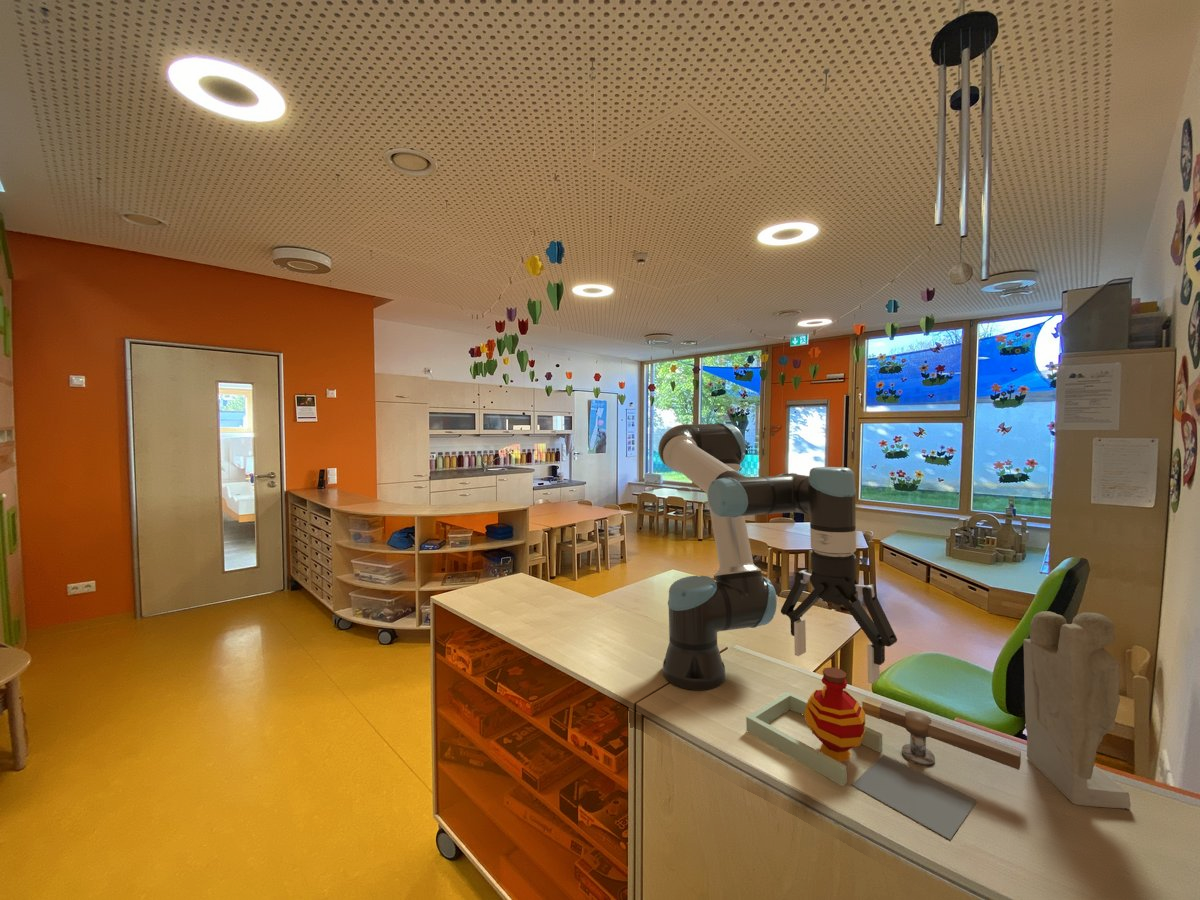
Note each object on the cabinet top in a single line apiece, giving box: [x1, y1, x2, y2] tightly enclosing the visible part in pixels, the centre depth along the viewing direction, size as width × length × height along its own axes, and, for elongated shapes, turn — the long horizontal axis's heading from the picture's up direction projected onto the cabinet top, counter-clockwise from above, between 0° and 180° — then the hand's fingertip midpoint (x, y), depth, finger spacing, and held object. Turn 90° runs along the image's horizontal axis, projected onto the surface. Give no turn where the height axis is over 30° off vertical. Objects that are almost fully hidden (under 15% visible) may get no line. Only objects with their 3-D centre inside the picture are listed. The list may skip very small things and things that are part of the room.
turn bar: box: [861, 696, 1022, 771], centre depth 86 cm, size 4×23×2 cm, turn 44°
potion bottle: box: [804, 666, 866, 762], centre depth 89 cm, size 10×10×15 cm
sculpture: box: [1023, 610, 1131, 809], centre depth 79 cm, size 15×8×30 cm, turn 168°
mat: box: [851, 754, 978, 841], centre depth 79 cm, size 14×12×1 cm
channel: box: [745, 691, 883, 787], centre depth 93 cm, size 19×15×3 cm
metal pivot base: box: [901, 733, 936, 767], centre depth 88 cm, size 5×5×4 cm
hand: (834, 666), depth 88 cm, fingers open, 13 cm apart
